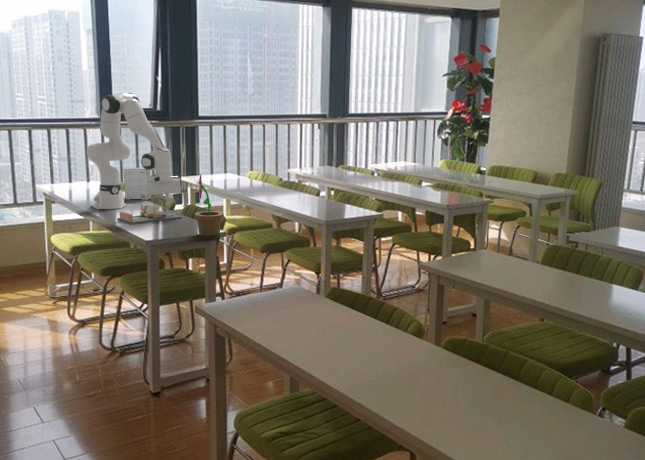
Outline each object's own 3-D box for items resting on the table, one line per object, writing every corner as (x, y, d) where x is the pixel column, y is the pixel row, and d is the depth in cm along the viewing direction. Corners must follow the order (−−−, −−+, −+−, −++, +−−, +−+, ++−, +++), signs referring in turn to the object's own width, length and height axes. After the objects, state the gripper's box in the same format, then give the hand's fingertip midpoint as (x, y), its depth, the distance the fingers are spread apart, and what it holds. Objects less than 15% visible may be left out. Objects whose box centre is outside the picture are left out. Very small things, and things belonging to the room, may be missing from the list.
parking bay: (118, 218, 388) (117, 205, 387) (142, 215, 397) (142, 202, 396) (131, 222, 376) (131, 209, 375) (156, 219, 386) (156, 206, 385)
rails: (122, 219, 385) (122, 217, 385) (168, 213, 404) (168, 211, 403) (129, 221, 380) (129, 219, 379) (175, 215, 398) (175, 213, 398)
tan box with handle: (140, 215, 393) (139, 198, 391) (158, 213, 401) (157, 196, 399) (148, 218, 386) (148, 200, 384) (166, 216, 393) (166, 198, 391)
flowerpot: (196, 230, 363) (195, 172, 357) (224, 230, 364) (223, 172, 358) (193, 236, 349) (192, 176, 343) (222, 236, 350) (221, 176, 344)
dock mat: (117, 219, 388) (116, 218, 388) (165, 213, 408) (165, 212, 408) (131, 224, 376) (131, 222, 376) (181, 218, 395) (181, 216, 395)
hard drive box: (152, 198, 462) (150, 167, 458) (148, 200, 455) (146, 169, 451) (128, 197, 464) (127, 167, 459) (124, 199, 456) (123, 168, 452)
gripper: (176, 174, 403) (177, 198, 406) (144, 177, 389) (145, 202, 392) (182, 176, 398) (183, 200, 401) (150, 178, 385) (150, 204, 388)
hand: (164, 201), depth 396 cm, fingers closed
